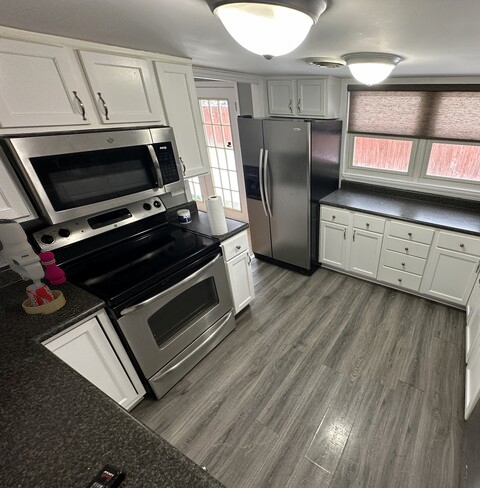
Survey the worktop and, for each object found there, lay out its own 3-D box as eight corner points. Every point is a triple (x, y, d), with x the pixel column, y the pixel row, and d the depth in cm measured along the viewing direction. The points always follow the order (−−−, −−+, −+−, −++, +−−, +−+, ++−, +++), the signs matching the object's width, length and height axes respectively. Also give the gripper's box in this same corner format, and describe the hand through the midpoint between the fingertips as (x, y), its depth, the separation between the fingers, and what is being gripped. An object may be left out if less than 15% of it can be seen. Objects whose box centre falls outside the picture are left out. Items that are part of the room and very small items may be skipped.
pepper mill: (65, 276, 148) (49, 245, 139) (69, 281, 145) (53, 249, 136) (47, 282, 143) (30, 249, 134) (51, 287, 139) (34, 254, 130)
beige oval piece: (36, 321, 117) (31, 311, 114) (21, 312, 121) (16, 302, 119) (72, 304, 128) (68, 294, 125) (57, 296, 132) (52, 287, 130)
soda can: (55, 308, 124) (44, 287, 118) (34, 314, 120) (22, 292, 115) (58, 300, 129) (47, 280, 123) (38, 305, 125) (26, 284, 120)
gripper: (-4, 252, 113) (11, 280, 119) (21, 264, 106) (35, 292, 112) (17, 247, 119) (30, 273, 124) (41, 257, 111) (53, 285, 117)
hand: (32, 282), depth 118 cm, fingers open, 8 cm apart
